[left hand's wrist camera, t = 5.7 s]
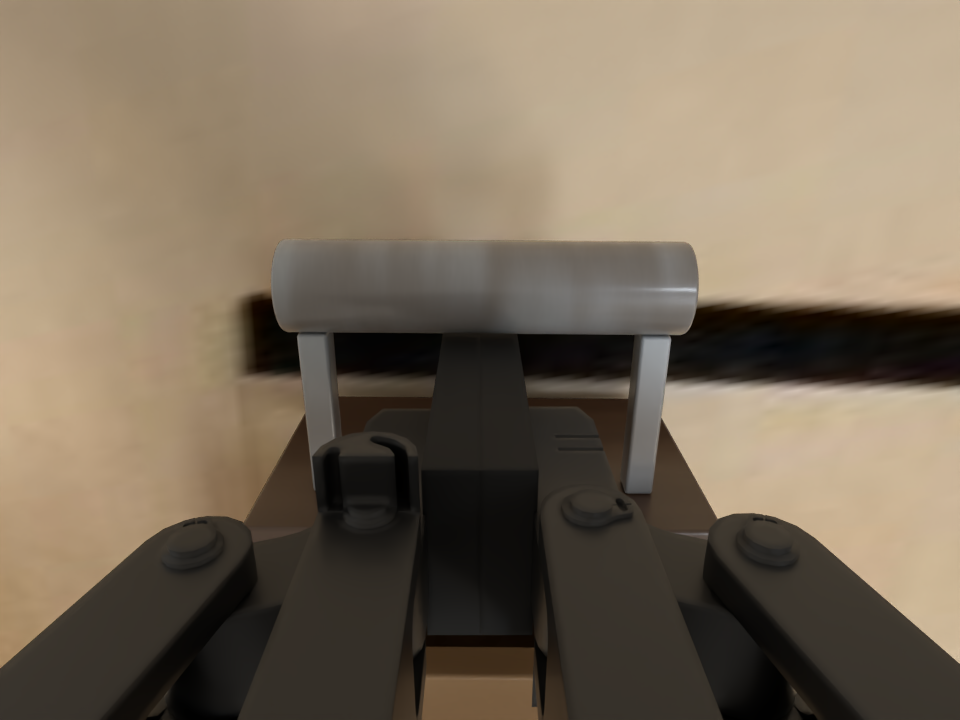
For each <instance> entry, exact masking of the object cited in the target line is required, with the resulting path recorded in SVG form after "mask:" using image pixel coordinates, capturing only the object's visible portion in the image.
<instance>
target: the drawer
mask: <svg viewBox="0 0 960 720" xmlns="http://www.w3.org/2000/svg"><path fill="white" fill-rule="evenodd" d="M698 289H699V277H698V266H697V260H696V256H695V253H694V250H693V248H692V247H691V245H690V244H688V243H686V242H632V241H495V240H357V239H284V240H282V241H280V242H279V244H278V245H277V247H276V250H275V253H274V257H273V262H272V270H271V293H272V302H273V308H274V312H275V316H276V319H277V321H278V324H279V325H280V327H281V328H282V329H283V330H284V331H287V332H299V334H298V336H297V340H298V349H299V358H300V368H301V377H302V386H303V396H304V405H305V414H304V416H303V418H302V420H301V422H300V423H299V425H298V427H297V429H296V430H295V432H294V434H293V436H292V438H291V439H290V441H289V443H288V445H287V446H286V448H285V450H284V452H283V454H282V455H281V457H280V459H279V461H278V463H277V464H276V466H275V468H274V470H273V471H272V473H271V475H270V477H269V479H268V480H267V482H266V484H265V486H264V487H263V489H262V491H261V493H260V495H259V496H258V498H257V500H256V502H255V503H254V505H253V507H252V509H251V511H250V512H249V514H248V516H247V518H246V519H245V521H244V524H245V525H246V526H247V527H248V529H249V530H250V531H251V535H252V541H253V543H254V542H258V541H263V540H268V539H273V538H278V537H283V536H286V535H290V534H294V533H297V532H300V531H303V530H305V529H307V528H310V527H312V526H313V524H314V521H315V519H316V516H317V514H318V508H317V499H316V489H315V480H314V471H313V462H312V456H313V455H314V453H315V452H316V451H317V450H318V449H319V448H320V446H322V445H324V444H326V443H327V442H329V441H331V440H333V439H335V438H338V437H341V436H345V435H348V434H352V433H359V432H363V431H364V428H365V425H366V422H367V421H368V420H370V419H371V418H372V417H373V416H374V415H376V414H377V413H378V412H379V411H381V410H382V409H431V405H432V399H433V397H339V396H338V384H337V373H336V361H335V349H334V337H333V332H360V333H493V334H626V335H635V339H634V349H633V359H632V368H631V378H630V388H629V398H628V399H566V398H527V399H528V406H529V407H578V408H580V409H581V410H582V411H583V412H584V413H586V414H587V415H588V416H589V417H591V418H592V419H593V420H594V423H595V426H596V429H597V431H598V434H599V438H600V440H601V443H602V445H603V451H605V454H606V457H607V459H608V462H609V465H610V468H611V471H612V473H613V476H614V479H615V482H616V485H617V487H618V490H619V491H620V492H622V493H623V494H625V495H626V496H628V497H630V498H631V499H633V500H634V501H635V503H636V504H637V505H638V507H639V508H640V509H641V511H642V513H643V515H644V518H645V520H646V523H648V524H650V525H652V526H654V527H657V528H659V529H662V530H665V531H669V532H673V533H676V534H681V535H686V536H691V537H696V538H700V539H705V540H708V534H709V528H710V527H711V526H712V525H713V524H714V523H715V522H716V521H717V520H718V519H717V517H716V515H715V514H714V512H713V510H712V508H711V506H710V505H709V503H708V501H707V499H706V497H705V495H704V494H703V492H702V490H701V488H700V486H699V485H698V483H697V481H696V479H695V477H694V476H693V474H692V472H691V470H690V468H689V467H688V465H687V463H686V461H685V459H684V458H683V456H682V454H681V452H680V450H679V449H678V447H677V445H676V443H675V441H674V440H673V438H672V436H671V434H670V432H669V431H668V429H667V427H666V425H665V423H664V422H663V420H662V418H661V416H662V408H663V400H664V392H665V384H666V376H667V368H668V360H669V352H670V344H671V338H670V336H669V335H682V334H684V333H686V332H687V331H688V330H689V328H690V326H691V324H692V322H693V319H694V315H695V311H696V307H697V300H698ZM425 639H426V646H428V647H534V639H535V634H534V625H533V632H532V635H428V634H427V627H426V637H425Z"/></svg>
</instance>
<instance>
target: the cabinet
mask: <svg viewBox="0 0 960 720" xmlns="http://www.w3.org/2000/svg"><path fill="white" fill-rule="evenodd" d="M426 663H427V667H426V678H425V689H424V700H423V711H422V720H538V710H537V707H532V687H533V663H534V647H428V646H426Z"/></svg>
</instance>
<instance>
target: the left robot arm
mask: <svg viewBox="0 0 960 720" xmlns="http://www.w3.org/2000/svg"><path fill="white" fill-rule="evenodd" d="M312 462H313V471H314V480H315V489H316V499H317V508H318V514H317V516H316V519H315V521H314V524H313V526H312V527H310V528H307V529H305V530H303V531H300V532H297V533H294V534H290V535H286V536H283V537H278V538H273V539H268V540H263V541H258V542H254V543H253V541H252V535H251V531H250V530H249V529H248V527H247V526H246V525H245V524H244V523H243V522H241V521H238V520H235V519H232V518H229V517H218V516H206V517H198V518H193V519H189V520H185V521H182V522H180V523H177V524H175V525H172V526H170V527H167V528H165V529H163V530H162V531H160V532H159V533H157V534H156V535H154V536H153V537H151V538H150V539H148V540H147V541H145V542H144V543H143V544H142V545H141V546H140V547H139V548H137V549H136V550H135V551H134V552H133V553H132V554H131V555H129V556H128V557H127V558H126V559H125V560H124V561H123V562H121V563H120V564H119V565H118V566H117V567H116V568H115V569H113V570H112V571H111V572H110V573H109V574H108V575H107V576H105V577H104V578H103V579H102V580H101V581H100V582H99V583H97V584H96V585H95V586H94V587H93V588H92V589H91V590H89V591H88V592H87V593H86V594H85V595H84V596H83V597H81V598H80V599H79V600H78V601H77V602H76V603H75V604H73V605H72V606H71V607H70V608H69V609H68V610H67V611H65V612H64V613H63V614H62V615H61V616H60V617H59V618H57V619H56V620H55V621H54V622H53V623H52V624H51V625H49V626H48V627H47V628H46V629H45V630H44V631H43V632H41V633H40V634H39V635H38V636H37V637H36V638H35V639H33V640H32V641H31V642H30V643H29V644H28V645H27V646H26V647H24V648H23V649H22V650H21V651H20V652H19V653H18V654H16V655H15V656H14V657H13V658H12V659H11V660H10V661H8V662H7V663H6V664H5V665H4V666H3V667H2V668H0V720H422V711H423V700H424V689H425V678H426V667H427V663H426V639H425V637H426V627H427V634H428V635H532V632H533V625H534V634H535V639H534V663H533V687H532V707H537V710H538V720H960V664H959V663H958V662H957V661H956V660H955V659H953V658H952V657H951V656H950V655H949V654H948V653H946V652H945V651H944V650H943V649H942V648H941V647H940V646H938V645H937V644H936V643H935V642H934V641H933V640H932V639H930V638H929V637H928V636H927V635H926V634H925V633H923V632H922V631H921V630H920V629H919V628H918V627H917V626H915V625H914V624H913V623H912V622H911V621H910V620H908V619H907V618H906V617H905V616H904V615H903V614H902V613H900V612H899V611H898V610H897V609H896V608H895V607H894V606H892V605H891V604H890V603H889V602H888V601H887V600H885V599H884V598H883V597H882V596H881V595H880V594H879V593H877V592H876V591H875V590H874V589H873V588H872V587H870V586H869V585H868V584H867V583H866V582H865V581H864V580H862V579H861V578H860V577H859V576H858V575H857V574H856V573H854V572H853V571H852V570H851V569H850V568H849V567H847V566H846V565H845V564H844V563H843V562H842V561H841V560H839V559H838V558H837V557H836V556H835V555H834V554H832V553H831V552H830V551H829V550H828V549H827V548H826V547H824V546H823V545H822V544H821V543H820V542H819V541H818V540H816V539H815V538H814V537H812V536H811V535H809V534H808V533H806V532H805V531H803V530H802V529H800V528H799V527H797V526H796V525H793V524H790V523H788V522H785V521H783V520H780V519H778V518H776V517H772V516H767V515H766V516H765V515H762V514H754V513H747V514H732V515H729V516H726V517H723V518H720V519H718V520H717V521H716V522H715V523H714V524H713V525H712V526H711V527H710V528H709V534H708V540H705V539H700V538H696V537H691V536H686V535H681V534H676V533H673V532H669V531H665V530H662V529H659V528H657V527H654V526H652V525H650V524H648V523H646V520H645V518H644V515H643V513H642V511H641V509H640V508H639V507H638V505H637V504H636V503H635V501H634V500H633V499H631V498H630V497H628V496H626V495H625V494H623V493H622V492H620V491H619V490H618V487H617V485H616V482H615V479H614V476H613V473H612V471H611V468H610V465H609V462H608V459H607V457H606V454H605V451H603V445H602V443H601V440H600V438H599V434H598V431H597V429H596V426H595V423H594V420H593V419H592V418H591V417H589V416H588V415H587V414H586V413H584V412H583V411H582V410H581V409H580V408H578V407H529V406H528V399H527V393H526V387H525V381H524V374H523V368H522V362H521V355H520V349H519V343H518V337H517V334H493V333H443V336H442V343H441V349H440V355H439V361H438V368H437V374H436V380H435V386H434V393H433V399H432V405H431V409H382V410H381V411H379V412H378V413H377V414H376V415H374V416H373V417H372V418H371V419H370V420H368V421H367V422H366V425H365V428H364V431H363V432H359V433H352V434H348V435H345V436H341V437H338V438H335V439H333V440H331V441H329V442H327V443H326V444H324V445H322V446H320V448H319V449H318V450H317V451H316V452H315V453H314V455H313V456H312Z"/></svg>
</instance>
